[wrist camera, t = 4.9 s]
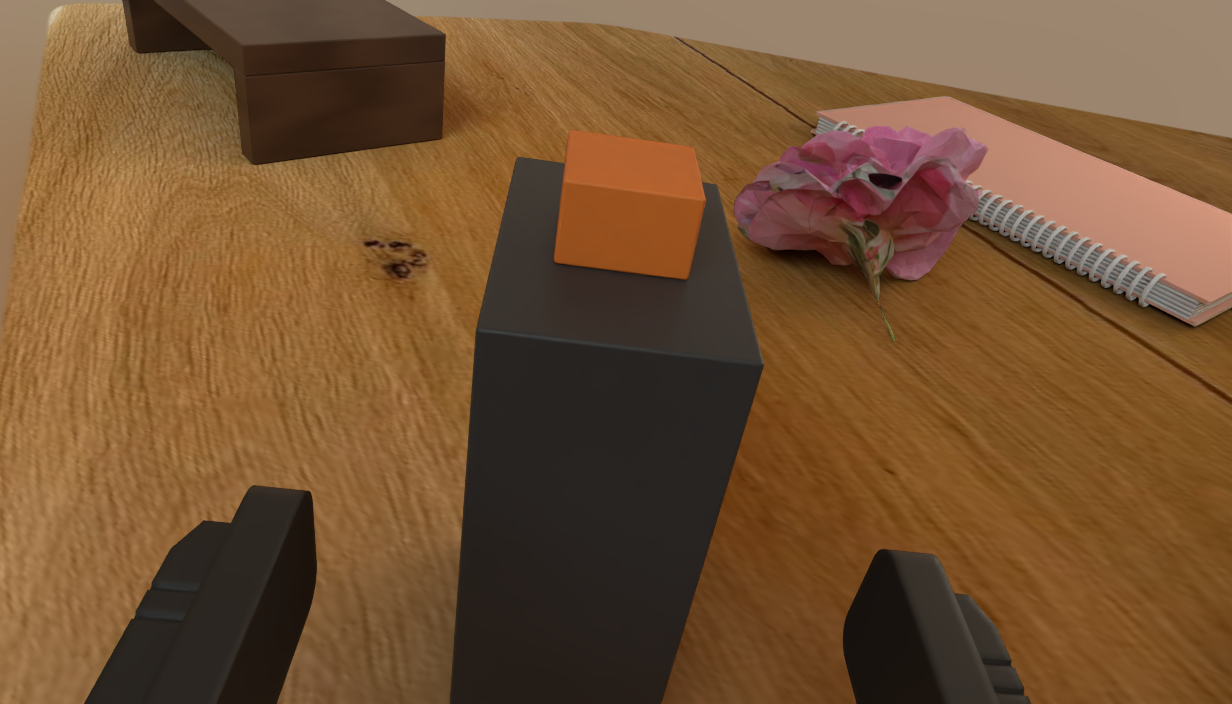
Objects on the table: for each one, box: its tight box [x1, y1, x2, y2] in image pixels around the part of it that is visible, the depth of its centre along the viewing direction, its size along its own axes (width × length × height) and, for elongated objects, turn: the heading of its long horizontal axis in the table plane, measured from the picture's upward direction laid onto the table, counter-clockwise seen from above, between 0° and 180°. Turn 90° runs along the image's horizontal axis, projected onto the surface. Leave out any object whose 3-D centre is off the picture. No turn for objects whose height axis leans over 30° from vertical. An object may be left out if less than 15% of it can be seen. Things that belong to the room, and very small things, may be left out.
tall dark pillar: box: [450, 130, 764, 704], centre depth 19 cm, size 4×7×14 cm, turn 1°
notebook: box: [811, 96, 1232, 327], centre depth 56 cm, size 27×17×2 cm, turn 36°
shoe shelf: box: [122, 0, 446, 164], centre depth 51 cm, size 11×20×6 cm, turn 41°
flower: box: [734, 125, 989, 341], centre depth 41 cm, size 11×10×10 cm
